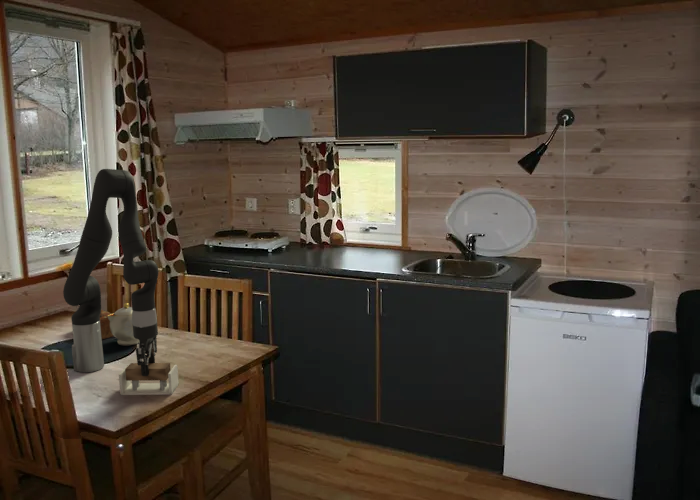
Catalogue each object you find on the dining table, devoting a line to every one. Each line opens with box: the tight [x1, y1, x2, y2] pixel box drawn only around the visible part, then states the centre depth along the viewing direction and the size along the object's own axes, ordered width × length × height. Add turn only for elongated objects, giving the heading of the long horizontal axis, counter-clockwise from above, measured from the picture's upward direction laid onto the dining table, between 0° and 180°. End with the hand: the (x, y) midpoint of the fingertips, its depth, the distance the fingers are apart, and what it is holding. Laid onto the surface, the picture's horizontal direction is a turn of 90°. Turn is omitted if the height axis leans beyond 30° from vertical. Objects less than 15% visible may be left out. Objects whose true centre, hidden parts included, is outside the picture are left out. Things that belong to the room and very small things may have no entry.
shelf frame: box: [118, 364, 180, 396], centre depth 208 cm, size 17×8×7 cm, turn 90°
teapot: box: [108, 302, 139, 347], centre depth 254 cm, size 18×14×16 cm
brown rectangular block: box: [125, 362, 172, 382], centre depth 207 cm, size 13×5×4 cm, turn 89°
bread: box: [100, 309, 115, 340], centre depth 266 cm, size 19×11×10 cm, turn 45°
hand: (148, 371), depth 207 cm, fingers open, 6 cm apart
